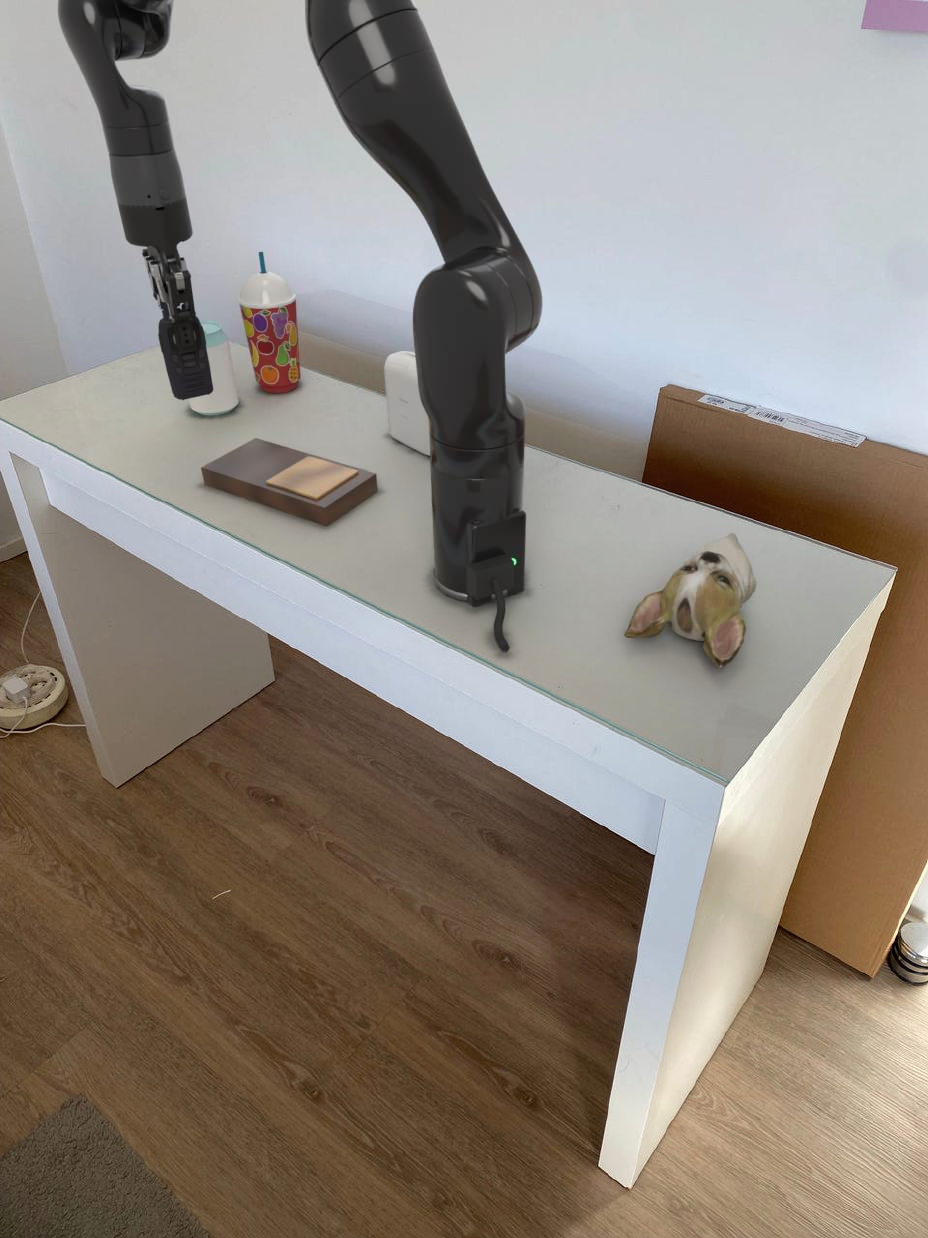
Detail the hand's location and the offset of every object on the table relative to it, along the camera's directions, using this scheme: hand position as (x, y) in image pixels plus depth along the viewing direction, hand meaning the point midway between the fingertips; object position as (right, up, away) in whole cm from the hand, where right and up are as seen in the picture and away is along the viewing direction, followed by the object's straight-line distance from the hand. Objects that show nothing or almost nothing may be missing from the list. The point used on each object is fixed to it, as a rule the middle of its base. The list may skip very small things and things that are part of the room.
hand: (182, 344), depth 112 cm
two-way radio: (0, -5, +4) cm, 6 cm away
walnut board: (+13, -17, +2) cm, 22 cm away
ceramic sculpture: (+58, -35, -22) cm, 71 cm away
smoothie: (+6, +2, +29) cm, 30 cm away
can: (-2, -3, +23) cm, 23 cm away
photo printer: (+29, -10, +12) cm, 33 cm away
